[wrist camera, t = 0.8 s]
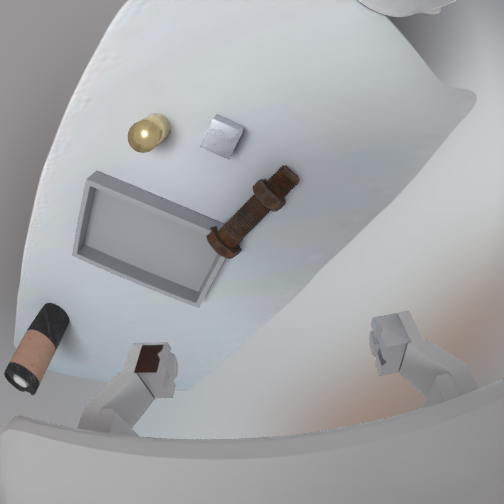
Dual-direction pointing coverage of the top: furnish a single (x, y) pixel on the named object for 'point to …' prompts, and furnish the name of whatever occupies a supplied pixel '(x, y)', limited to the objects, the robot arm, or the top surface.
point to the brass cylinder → (148, 133)
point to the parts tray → (146, 239)
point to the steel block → (222, 136)
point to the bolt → (252, 212)
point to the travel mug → (37, 349)
